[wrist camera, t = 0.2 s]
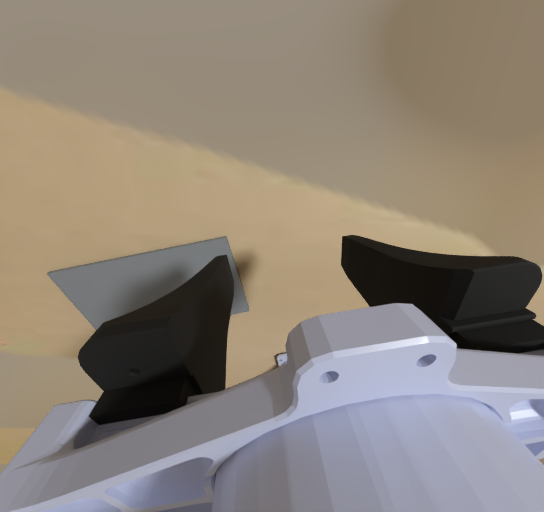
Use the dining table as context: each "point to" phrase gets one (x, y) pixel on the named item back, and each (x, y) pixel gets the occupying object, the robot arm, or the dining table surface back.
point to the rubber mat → (140, 279)
